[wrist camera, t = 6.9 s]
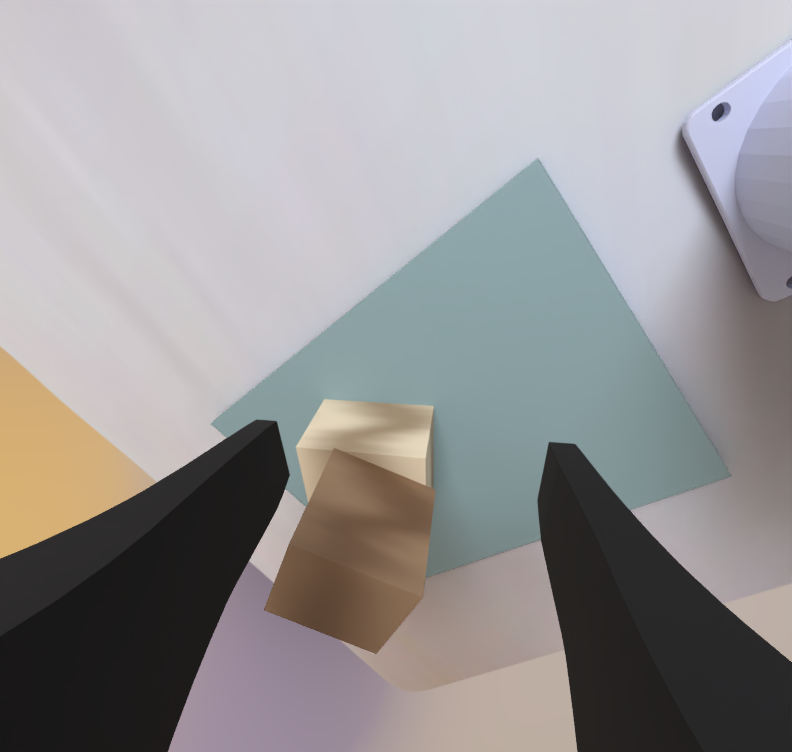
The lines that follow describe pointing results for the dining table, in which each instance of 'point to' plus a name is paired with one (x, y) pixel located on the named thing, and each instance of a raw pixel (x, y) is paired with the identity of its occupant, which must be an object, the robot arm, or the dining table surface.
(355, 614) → the walnut cube
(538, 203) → the mat
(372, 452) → the maple block
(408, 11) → the dining table surface
